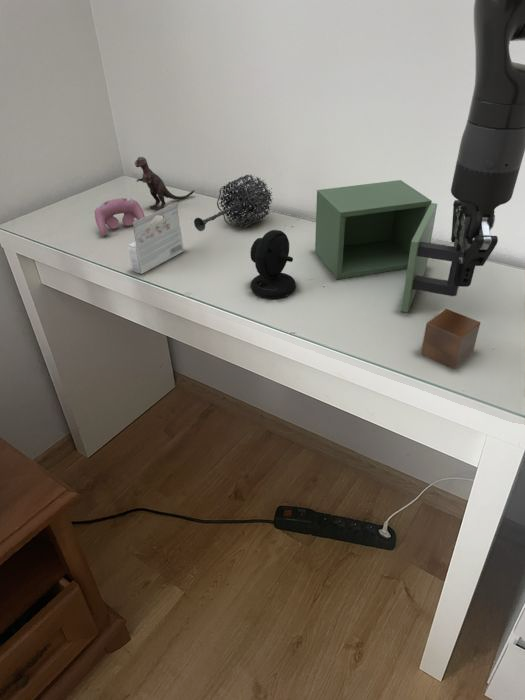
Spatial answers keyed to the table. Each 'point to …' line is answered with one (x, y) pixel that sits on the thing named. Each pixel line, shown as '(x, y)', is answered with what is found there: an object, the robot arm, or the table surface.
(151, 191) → the dinosaur model
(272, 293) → the webcam
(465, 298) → the table surface
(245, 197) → the massage brush
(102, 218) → the video game controller
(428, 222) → the door
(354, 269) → the cupboard
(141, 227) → the ink cartridge box
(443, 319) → the block
